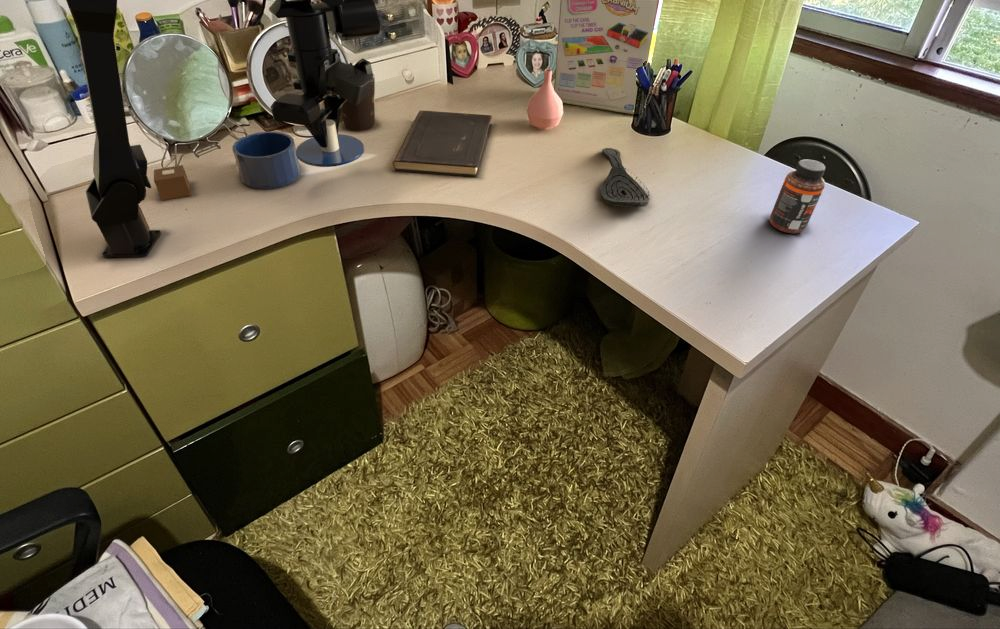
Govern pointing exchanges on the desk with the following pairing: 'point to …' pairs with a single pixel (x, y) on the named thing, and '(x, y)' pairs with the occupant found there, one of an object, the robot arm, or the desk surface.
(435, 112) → the hardcover book
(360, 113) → the coffee mug
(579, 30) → the game box
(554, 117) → the pink vase
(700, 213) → the desk surface
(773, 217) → the supplement bottle
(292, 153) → the blue round container
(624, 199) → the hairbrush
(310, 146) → the blue pot lid
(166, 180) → the small brown cardboard box
